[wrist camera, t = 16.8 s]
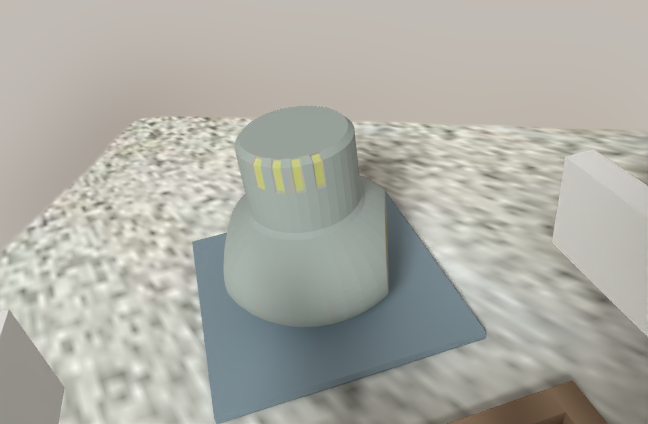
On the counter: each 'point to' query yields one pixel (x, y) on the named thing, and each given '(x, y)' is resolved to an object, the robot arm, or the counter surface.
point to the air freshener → (305, 222)
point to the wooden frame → (542, 409)
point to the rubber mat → (327, 330)
